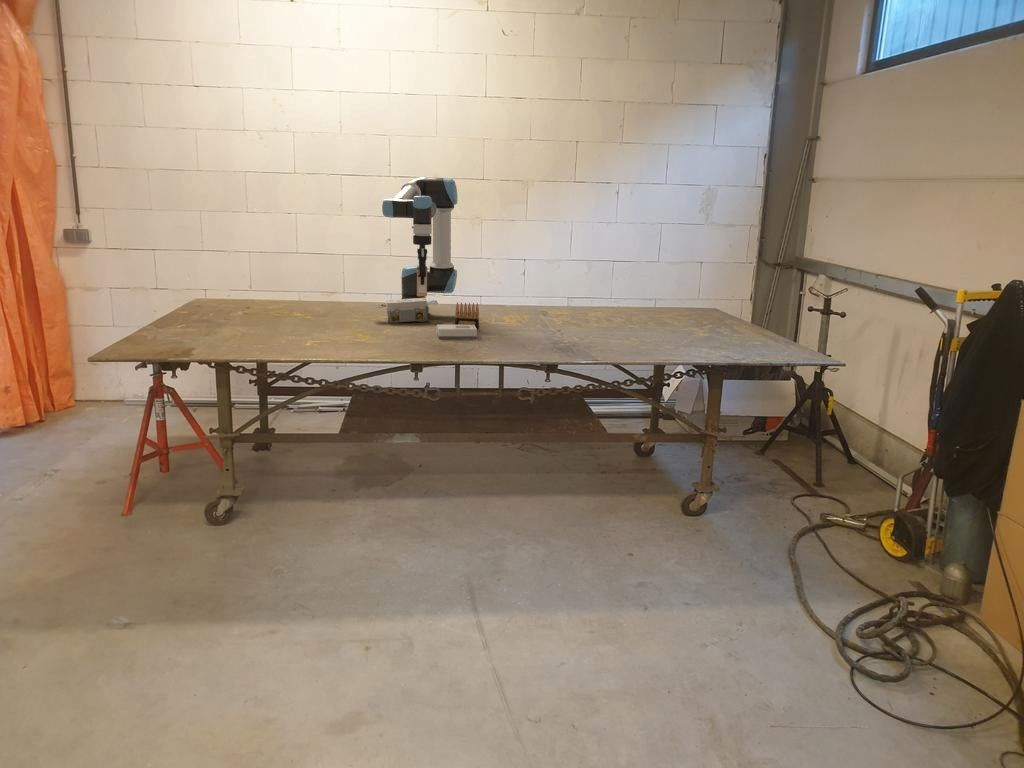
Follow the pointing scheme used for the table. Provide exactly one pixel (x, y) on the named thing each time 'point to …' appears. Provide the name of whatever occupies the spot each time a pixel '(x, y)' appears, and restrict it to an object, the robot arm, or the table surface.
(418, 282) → the copper brown rectangular block
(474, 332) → the socket plate
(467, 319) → the ammunition clip
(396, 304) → the electrical outlet
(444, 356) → the table surface
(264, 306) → the table surface
